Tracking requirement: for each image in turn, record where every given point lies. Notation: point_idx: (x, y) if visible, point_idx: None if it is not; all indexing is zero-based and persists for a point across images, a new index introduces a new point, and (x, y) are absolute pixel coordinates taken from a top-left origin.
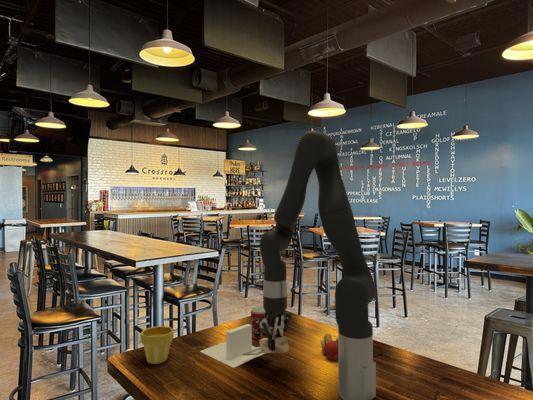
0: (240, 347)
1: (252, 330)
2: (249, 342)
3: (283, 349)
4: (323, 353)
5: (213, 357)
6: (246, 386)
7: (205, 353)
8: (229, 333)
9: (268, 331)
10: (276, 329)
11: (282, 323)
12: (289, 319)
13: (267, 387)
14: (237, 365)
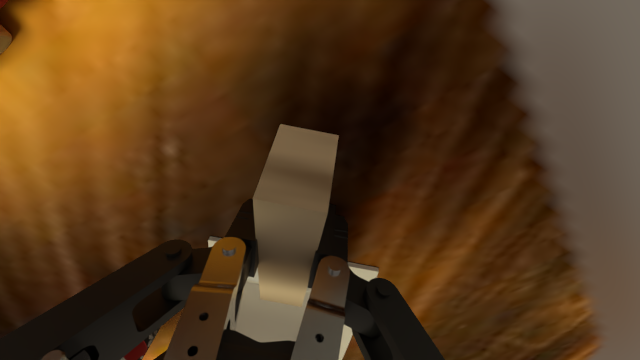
0: (286, 315)
1: (154, 337)
2: (240, 311)
3: (336, 150)
4: (9, 33)
5: (350, 333)
6: (474, 183)
7: (341, 353)
8: None
9: (408, 347)
10: (310, 316)
11: (195, 337)
12: (42, 325)
13: (452, 111)
14: (357, 269)
